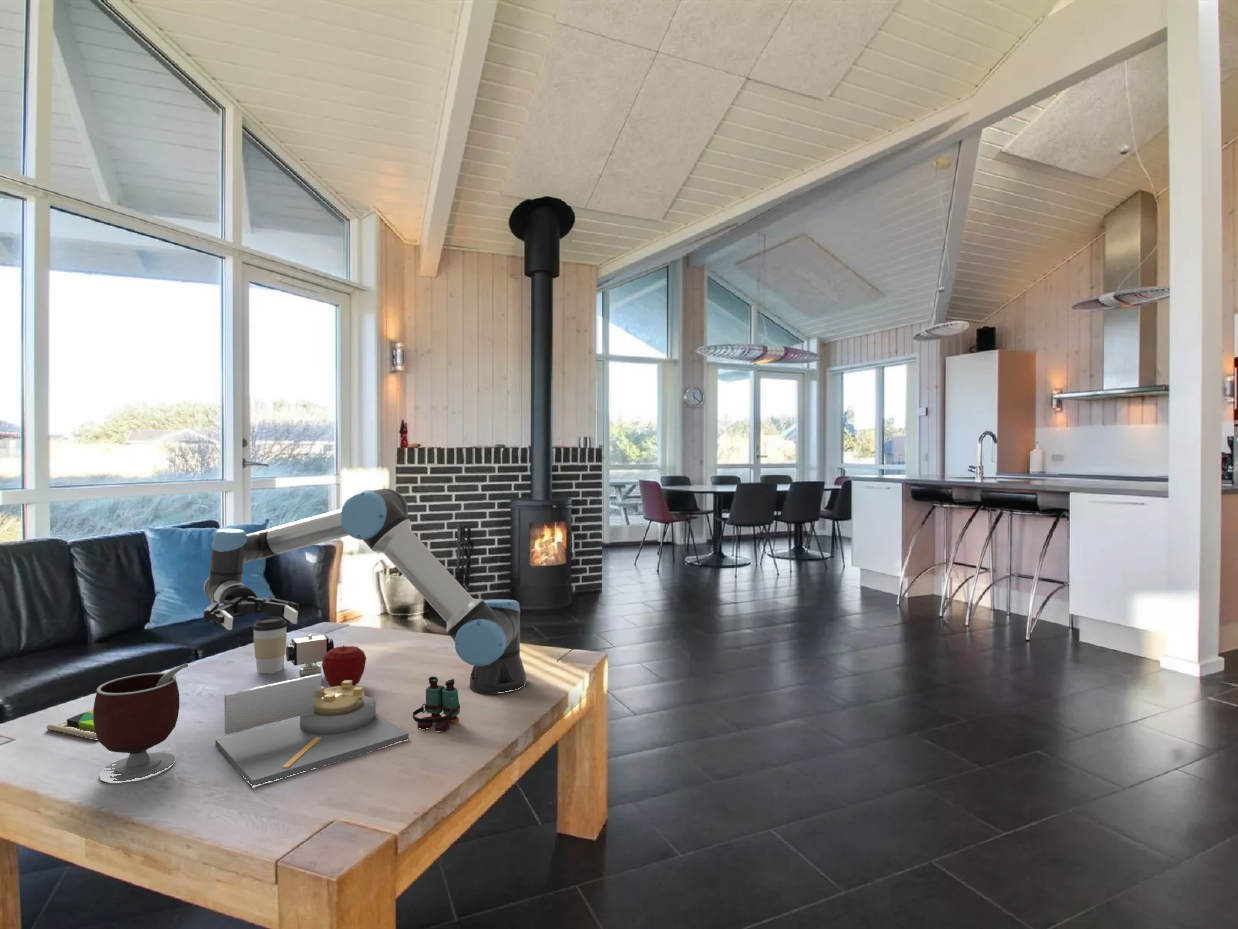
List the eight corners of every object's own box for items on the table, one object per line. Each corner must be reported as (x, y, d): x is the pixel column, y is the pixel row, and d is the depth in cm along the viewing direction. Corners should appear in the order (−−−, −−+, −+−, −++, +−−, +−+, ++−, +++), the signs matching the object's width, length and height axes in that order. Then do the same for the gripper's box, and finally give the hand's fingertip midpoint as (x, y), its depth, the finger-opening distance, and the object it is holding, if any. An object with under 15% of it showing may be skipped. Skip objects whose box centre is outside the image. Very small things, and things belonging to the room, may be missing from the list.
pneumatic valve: (334, 675, 192) (334, 633, 191) (288, 683, 185) (288, 639, 185) (330, 670, 196) (329, 629, 196) (285, 678, 189) (285, 635, 189)
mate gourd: (83, 791, 125) (82, 683, 125) (105, 761, 138) (104, 662, 138) (182, 775, 131) (181, 672, 131) (194, 747, 144) (193, 654, 144)
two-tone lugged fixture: (352, 694, 163) (352, 660, 163) (372, 706, 155) (372, 670, 155) (218, 727, 143) (218, 688, 143) (233, 743, 135) (233, 701, 135)
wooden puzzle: (43, 733, 153) (43, 718, 153) (129, 705, 171) (129, 691, 171) (95, 744, 147) (95, 728, 147) (178, 714, 165) (178, 699, 165)
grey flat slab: (358, 708, 166) (358, 690, 166) (408, 740, 148) (408, 719, 148) (215, 746, 145) (215, 725, 145) (252, 788, 126) (252, 764, 126)
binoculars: (404, 690, 151) (431, 672, 160) (408, 735, 152) (434, 715, 162) (439, 695, 148) (464, 676, 158) (442, 740, 149) (466, 719, 159)
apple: (329, 698, 173) (329, 653, 173) (316, 688, 181) (316, 644, 181) (372, 689, 181) (372, 645, 181) (357, 679, 189) (357, 637, 189)
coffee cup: (294, 668, 199) (293, 617, 198) (263, 676, 191) (263, 623, 191) (276, 663, 203) (276, 613, 203) (246, 671, 196) (245, 619, 196)
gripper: (287, 609, 176) (319, 631, 161) (175, 619, 159) (199, 644, 144) (290, 581, 176) (322, 599, 161) (178, 587, 158) (202, 608, 143)
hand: (264, 620), depth 152 cm, fingers open, 13 cm apart
